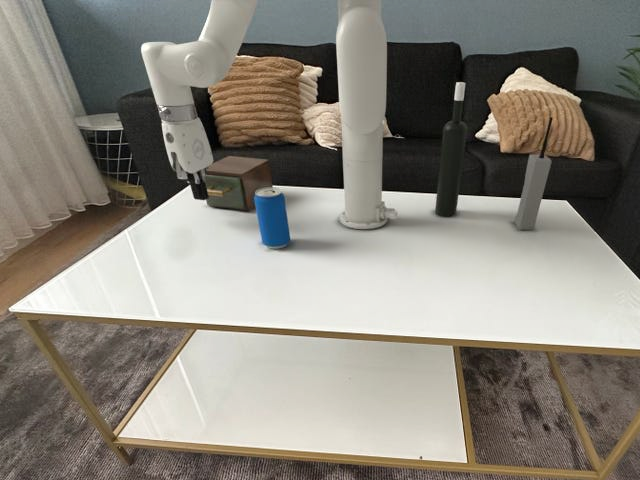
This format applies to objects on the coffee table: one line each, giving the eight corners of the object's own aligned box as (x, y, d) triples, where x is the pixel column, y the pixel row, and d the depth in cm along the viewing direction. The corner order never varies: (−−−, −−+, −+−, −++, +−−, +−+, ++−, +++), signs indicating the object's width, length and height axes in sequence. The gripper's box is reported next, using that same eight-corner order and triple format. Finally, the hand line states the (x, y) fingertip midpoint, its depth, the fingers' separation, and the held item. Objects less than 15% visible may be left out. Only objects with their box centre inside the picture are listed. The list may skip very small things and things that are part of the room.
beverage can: (294, 239, 97) (287, 187, 89) (286, 251, 92) (278, 197, 85) (267, 237, 98) (258, 186, 90) (258, 249, 93) (248, 195, 85)
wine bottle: (459, 212, 113) (477, 82, 93) (450, 218, 109) (467, 84, 89) (440, 208, 115) (454, 80, 95) (431, 214, 111) (444, 82, 92)
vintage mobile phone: (527, 222, 108) (554, 114, 91) (533, 230, 104) (563, 118, 88) (513, 222, 108) (538, 114, 91) (519, 230, 104) (546, 118, 88)
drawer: (236, 214, 106) (229, 183, 101) (197, 209, 108) (189, 179, 103) (268, 193, 119) (263, 165, 114) (233, 189, 121) (227, 161, 116)
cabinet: (249, 211, 110) (241, 174, 104) (208, 206, 113) (199, 169, 107) (274, 194, 121) (268, 159, 115) (236, 189, 124) (229, 155, 117)
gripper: (170, 121, 82) (196, 211, 94) (213, 109, 93) (231, 190, 105) (139, 118, 84) (168, 207, 96) (185, 107, 95) (206, 188, 107)
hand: (201, 198), depth 101 cm, fingers closed
